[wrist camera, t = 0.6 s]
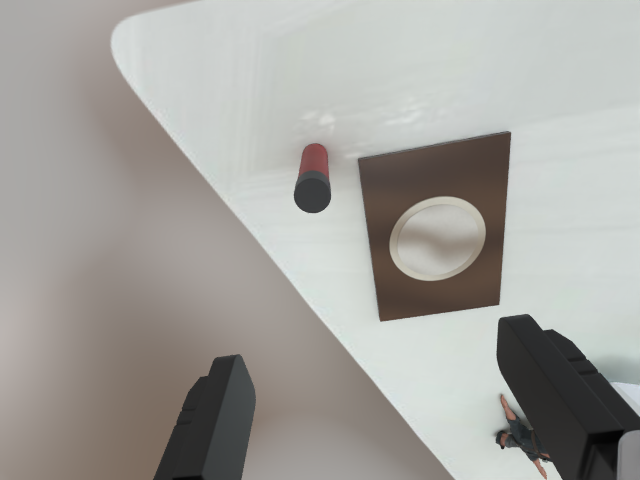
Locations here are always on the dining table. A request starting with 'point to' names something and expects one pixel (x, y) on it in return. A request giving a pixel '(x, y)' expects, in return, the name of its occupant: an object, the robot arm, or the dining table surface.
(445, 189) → the brown flat rectangular board
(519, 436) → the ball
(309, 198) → the marker
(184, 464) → the robot arm
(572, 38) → the dining table surface
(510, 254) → the dining table surface
